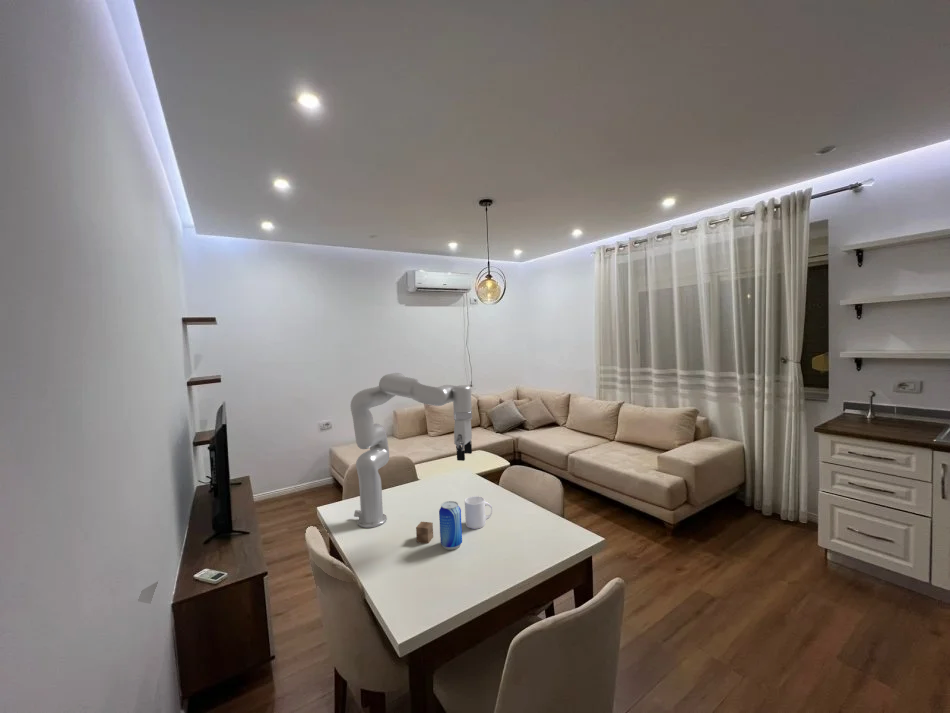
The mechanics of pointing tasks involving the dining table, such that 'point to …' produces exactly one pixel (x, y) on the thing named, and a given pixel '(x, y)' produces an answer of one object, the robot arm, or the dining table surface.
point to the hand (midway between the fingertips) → (464, 456)
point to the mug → (476, 512)
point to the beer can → (450, 525)
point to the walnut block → (424, 532)
